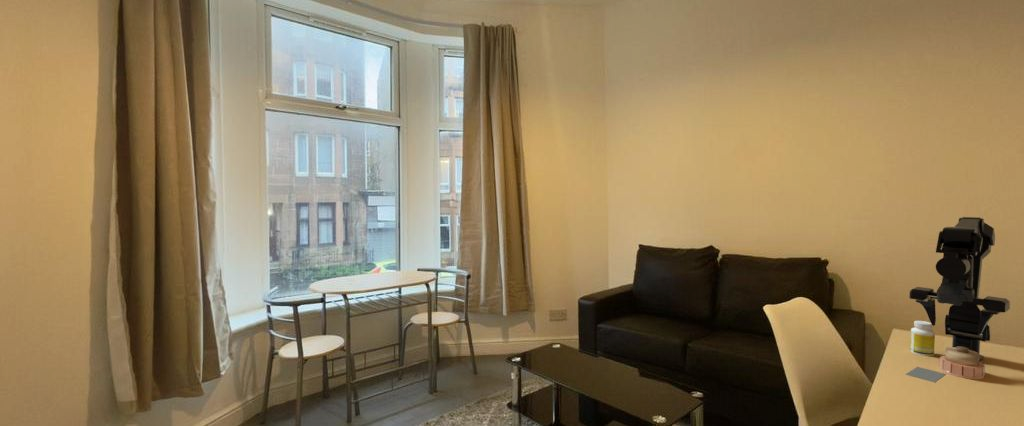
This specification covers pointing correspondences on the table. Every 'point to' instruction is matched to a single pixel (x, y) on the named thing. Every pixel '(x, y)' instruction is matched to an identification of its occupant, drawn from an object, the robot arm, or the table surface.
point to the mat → (925, 374)
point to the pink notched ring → (962, 369)
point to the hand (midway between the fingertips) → (956, 329)
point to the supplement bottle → (922, 338)
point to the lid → (962, 356)
